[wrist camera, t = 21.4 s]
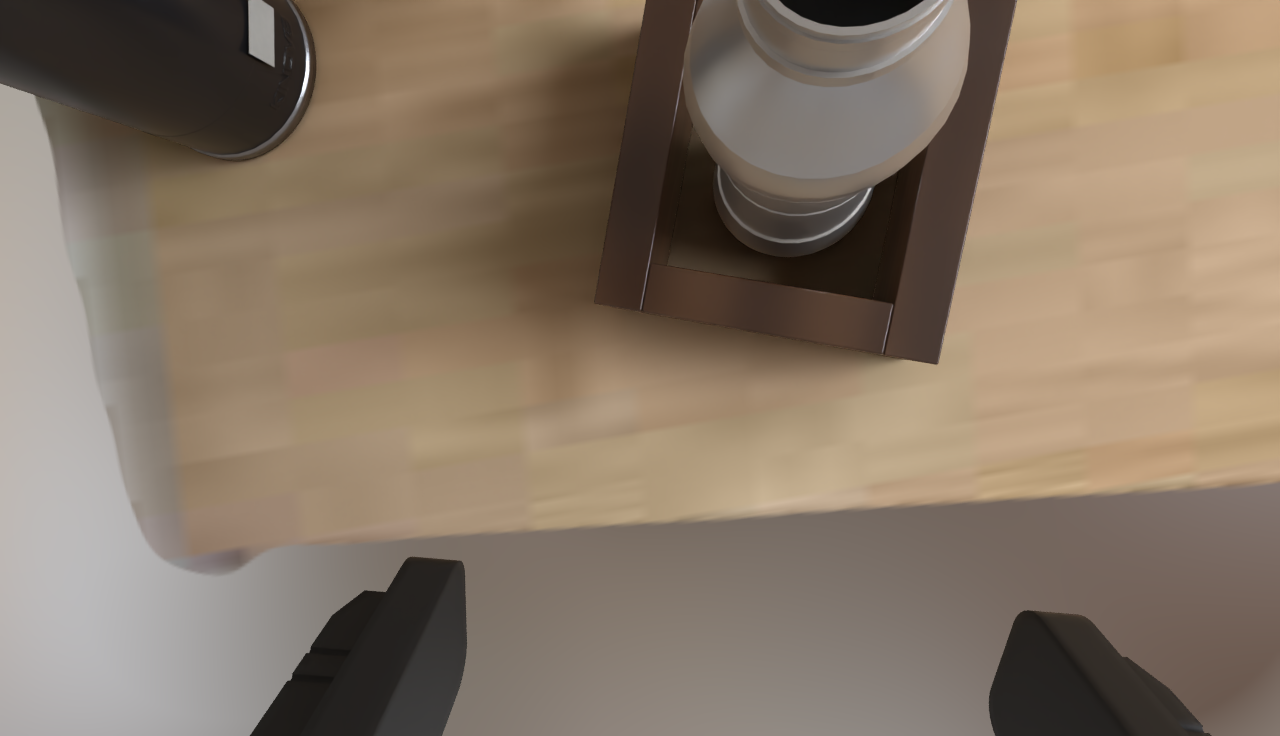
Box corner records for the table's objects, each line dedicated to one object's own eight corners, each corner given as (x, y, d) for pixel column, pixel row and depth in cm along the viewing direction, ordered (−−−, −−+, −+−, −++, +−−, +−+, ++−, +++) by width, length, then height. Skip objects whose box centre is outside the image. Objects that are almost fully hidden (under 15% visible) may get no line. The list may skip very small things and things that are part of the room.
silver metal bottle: (889, 221, 29) (1182, -12, 9) (750, 288, 30) (751, 205, 11) (827, 92, 29) (987, -404, 10) (691, 164, 30) (584, -146, 11)
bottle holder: (618, 308, 31) (593, 303, 26) (668, 22, 30) (652, -39, 25) (906, 359, 29) (938, 365, 24) (971, 54, 28) (1018, -5, 23)
